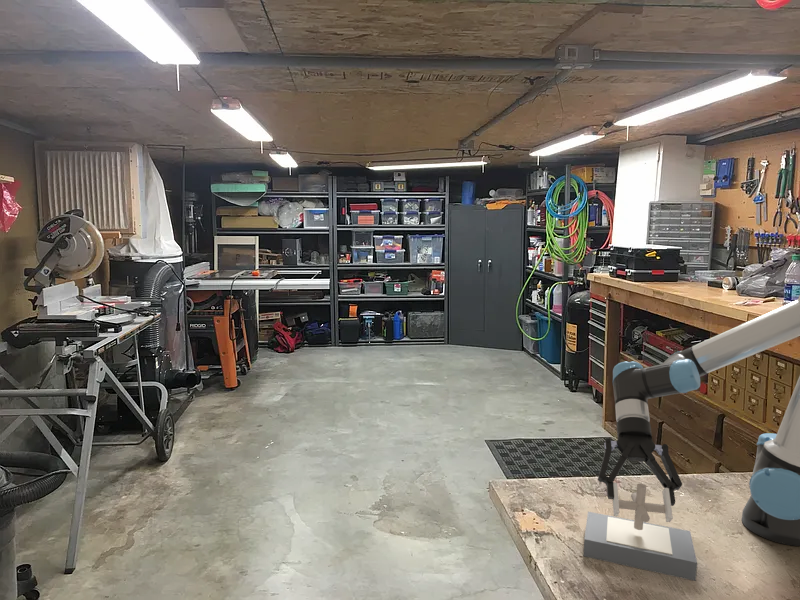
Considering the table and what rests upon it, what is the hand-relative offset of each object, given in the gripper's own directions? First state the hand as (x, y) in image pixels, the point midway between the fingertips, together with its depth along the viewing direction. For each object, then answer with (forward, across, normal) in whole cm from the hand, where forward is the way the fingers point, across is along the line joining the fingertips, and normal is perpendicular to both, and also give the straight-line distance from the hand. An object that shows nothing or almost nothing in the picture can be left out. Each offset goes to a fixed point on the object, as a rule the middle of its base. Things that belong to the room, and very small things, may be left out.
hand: (642, 517), depth 119 cm
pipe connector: (+1, 0, -5) cm, 5 cm away
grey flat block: (+5, 0, -9) cm, 10 cm away
